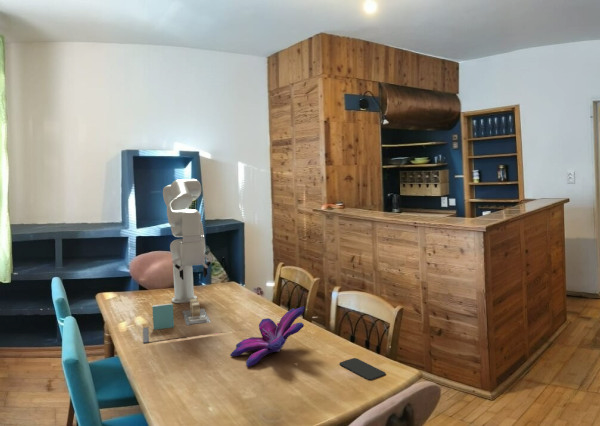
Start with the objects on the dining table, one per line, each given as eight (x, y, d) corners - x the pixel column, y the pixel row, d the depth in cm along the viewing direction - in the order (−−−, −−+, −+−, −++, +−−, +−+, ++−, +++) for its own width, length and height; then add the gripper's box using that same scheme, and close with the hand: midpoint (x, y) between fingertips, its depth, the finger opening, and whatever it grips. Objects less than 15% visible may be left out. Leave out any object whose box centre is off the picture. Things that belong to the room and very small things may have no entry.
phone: (369, 379, 133) (337, 362, 145) (369, 382, 133) (337, 365, 145) (387, 373, 137) (355, 357, 149) (387, 375, 137) (355, 359, 150)
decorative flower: (249, 393, 139) (234, 366, 138) (235, 362, 168) (222, 340, 167) (331, 339, 147) (317, 313, 146) (304, 319, 176) (292, 297, 175)
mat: (143, 328, 187) (143, 327, 187) (182, 323, 192) (182, 322, 192) (143, 343, 170) (143, 342, 170) (186, 337, 175) (186, 336, 175)
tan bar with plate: (186, 312, 205) (185, 299, 205) (201, 310, 207) (200, 297, 207) (189, 324, 188) (189, 310, 188) (206, 321, 190) (206, 307, 190)
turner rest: (182, 313, 207) (182, 311, 207) (204, 310, 211) (203, 308, 211) (186, 327, 187) (186, 325, 187) (210, 324, 190) (210, 322, 190)
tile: (153, 329, 184) (152, 305, 184) (173, 326, 187) (172, 303, 186) (153, 330, 182) (152, 306, 182) (174, 328, 185) (172, 304, 184)
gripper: (210, 236, 202) (212, 274, 203) (170, 239, 196) (172, 278, 198) (213, 238, 195) (214, 277, 196) (171, 241, 189) (173, 281, 191)
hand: (193, 277), depth 197 cm, fingers open, 9 cm apart
